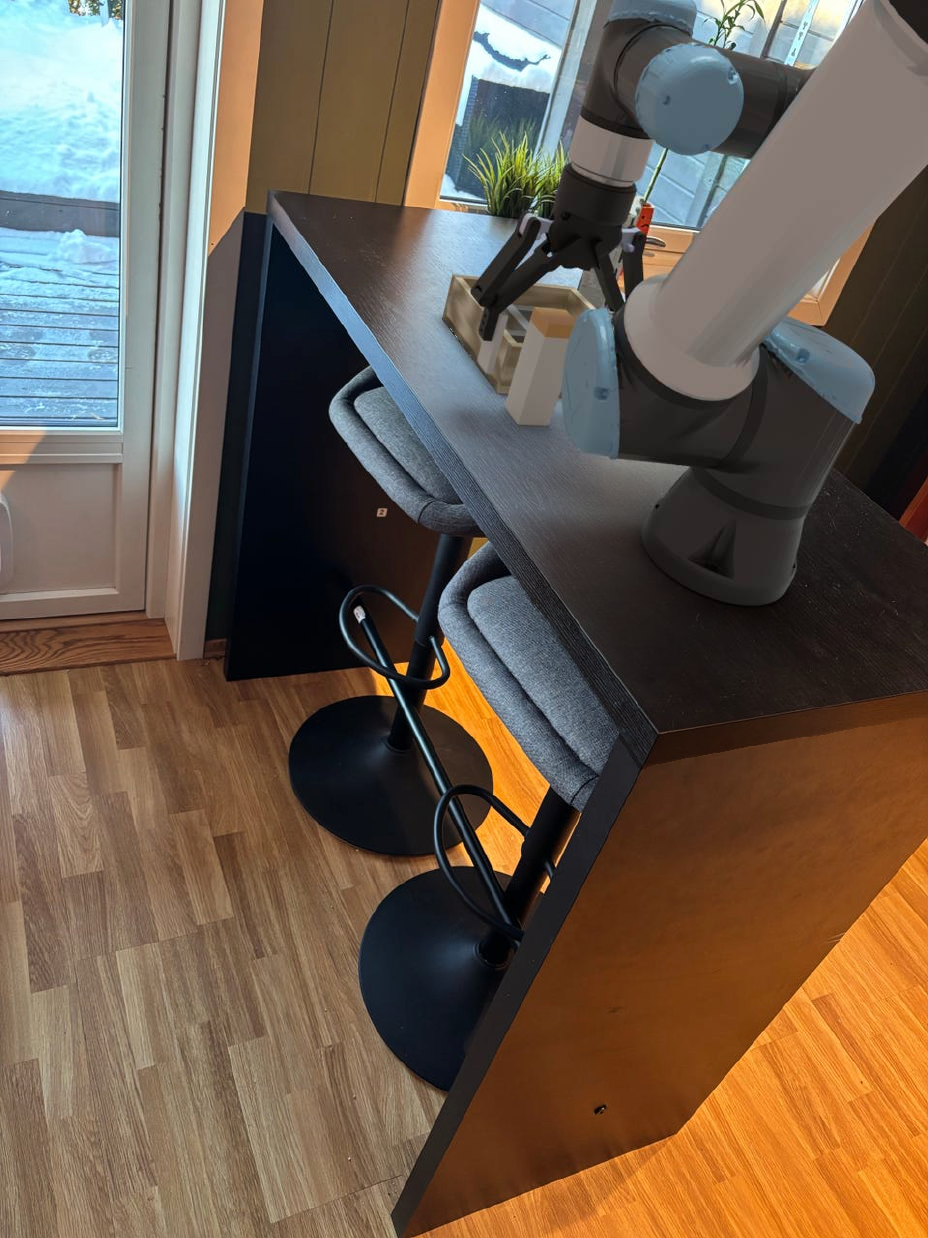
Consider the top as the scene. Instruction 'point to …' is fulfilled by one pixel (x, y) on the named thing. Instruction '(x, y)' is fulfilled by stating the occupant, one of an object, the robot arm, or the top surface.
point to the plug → (540, 367)
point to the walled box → (468, 313)
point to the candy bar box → (589, 279)
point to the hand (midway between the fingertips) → (539, 371)
